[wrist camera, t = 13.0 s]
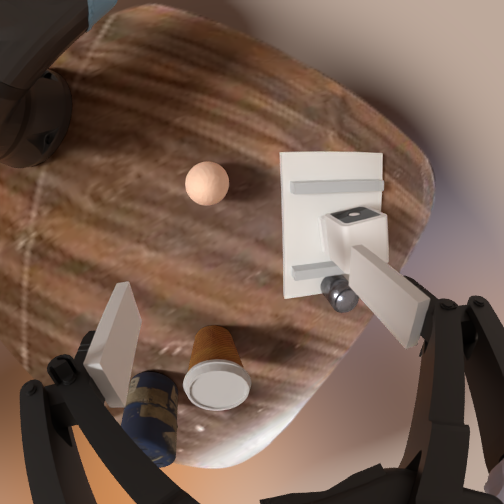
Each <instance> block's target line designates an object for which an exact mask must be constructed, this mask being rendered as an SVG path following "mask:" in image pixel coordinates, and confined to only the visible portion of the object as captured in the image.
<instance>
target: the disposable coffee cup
mask: <svg viewBox="0 0 504 504" xmlns="http://www.w3.org/2000/svg"><path fill="white" fill-rule="evenodd" d="M183 387H184V391H185V393H186V394H187V396H188V398H189V400H190V401H191V402H192V403H193V404H195V405H196V406H198V407H200V408H203V409H207V410H213V411H221V410H227V409H231V408H234V407H236V406H238V405H240V404H241V403H242V402H243V401H244V400H245V399H246V398H247V396H248V394H249V390H250V388H251V378H250V376H249V374H248V373H247V371H246V370H245V369H244V368H243V365H242V363H241V360H240V357H239V354H238V352H237V349H236V347H235V344H234V341H233V339H232V336H231V334H230V332H229V331H228V330H227V329H225V328H223V327H220V326H216V325H212V326H207V327H204V328H202V329H201V330H199V331H198V333H197V334H196V336H195V341H194V345H193V350H192V354H191V359H190V364H189V369H188V373H187V374H186V375H185V378H184V381H183Z"/></svg>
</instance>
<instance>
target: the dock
mask: <svg viewBox="0 0 504 504" xmlns="http://www.w3.org/2000/svg"><path fill="white" fill-rule="evenodd" d="M382 162H383V153H370V152H280V172H281V199H282V232H283V291H284V298H285V299H288V298H295V297H301V296H308V295H314V294H321V293H322V292H321V289H320V286H321V282H322V280H323V279H324V278H325V277H327V276H334V275H340V274H342V275H343V276H344V277H345V278H346V279H347V280H348V281H349V274H346V273H344V272H343V271H342V270H341V269H340V268H339V267H338V266H337V265H336V264H335V263H334V262H333V261H332V260H331V259H330V254H328V255H326V254H325V253H324V252H323V251H322V245H321V238H320V231H319V224H318V218H319V217H322V216H325V214H327V213H331V212H335V211H339V210H344V209H348V208H352V207H357V206H362V205H365V206H368V207H371V208H373V209H375V210H378V211H380V212H381V200H382V191H384V181H383V180H382Z"/></svg>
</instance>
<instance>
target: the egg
mask: <svg viewBox="0 0 504 504" xmlns="http://www.w3.org/2000/svg"><path fill="white" fill-rule="evenodd" d="M185 186H186V191H187V193H188V195H189V196H190V198H191V199H192V200H193V201H194V202H196V203H198V204H201V205H213V204H216V203H218V202H220V201H221V200H222V199H223V198H224V197H225V195H226V193H227V191H228V188H229V178H228V175H227V173H226V171H225V170H224V169H223V167H221V166H220V165H219V164H217V163H214V162H201V163H199V164H197V165H195V166H194V167H193V168H192V169H191V170H190V171H189V173H188V175H187V177H186V183H185Z"/></svg>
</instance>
